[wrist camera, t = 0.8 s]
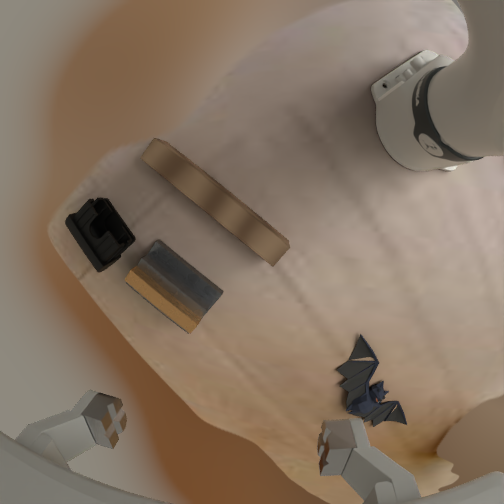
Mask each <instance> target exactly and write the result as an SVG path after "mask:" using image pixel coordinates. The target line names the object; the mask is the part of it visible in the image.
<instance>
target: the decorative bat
mask: <svg viewBox="0 0 504 504" xmlns="http://www.w3.org/2000/svg"><path fill="white" fill-rule="evenodd" d="M365 357H372V358H374V359H375V361H347V362H346V363H345V364H343V365H342V366H341V367H340V368H339V369H337V371H338V372H340V373H341V374H342V375H343V376H345V377H346V378H347V380H346V381H345V382H344V383H343V384H341V385H340V387H342V388H343V389H345V390H347V391H348V392H349V394H348V397H347V401H346V403H347V409H346V411H348V410H352V411H351V412H349V414H353V415H356V416H361V417H365V420H364V422H366V421H369V420H373V427H374V426H376V425H378V424H379V423H381V422H382V421H397V422H400V423H403V424H406V425H407V422H406V419H405V415H404V412H403V410H402V408H401V405H400V403H399V401H389V402H385V403H383V404H379V403H381V401H382V399H385V395H386V394H387V393H388V392H389V391H384V390H383V383H384V381H382V382H380V383H379V384H377V385H372V386H371V388H370V390H369V381H370V379H371V377H372V376H373V374H374V372H375V370H376V368H377V366H378V364H379V361H378V359H377V357H376V356H375V354H374V352H373V350H372V349H371V347H370V346H369V345H368V343H367V342H366V341H365V339H364V338H363V336H362V335H361V334H360V337H359V340H358V342H357V345H356V348H355V349H354V351H353V353H352V355H351V356H350V358H349V360H352V359H359V358H365ZM370 362H372V363H370ZM397 404H398V406H397V408H396V409H395V410H394V411H393V409H394V408H395V406H396V405H397ZM394 405H395V406H394ZM393 406H394V407H393ZM392 408H393V409H392ZM391 409H392V410H391ZM392 411H393V412H392ZM389 412H390V413H389ZM391 412H392V413H391Z"/></svg>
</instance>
